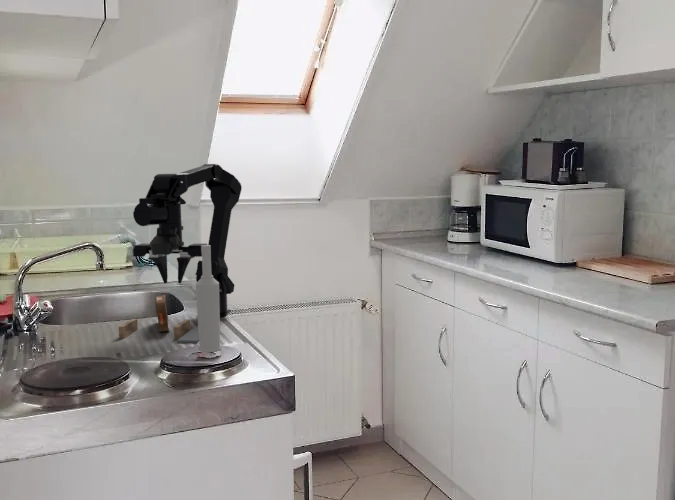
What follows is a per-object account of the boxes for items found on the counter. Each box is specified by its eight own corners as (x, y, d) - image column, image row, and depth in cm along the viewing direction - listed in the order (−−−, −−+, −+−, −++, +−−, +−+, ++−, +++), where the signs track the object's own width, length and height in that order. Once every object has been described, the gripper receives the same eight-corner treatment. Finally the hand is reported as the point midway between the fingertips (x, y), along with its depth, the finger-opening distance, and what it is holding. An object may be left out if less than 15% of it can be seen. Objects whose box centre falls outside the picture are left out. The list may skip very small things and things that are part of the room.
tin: (169, 334, 178) (167, 302, 177) (156, 335, 177) (154, 303, 176) (168, 322, 192) (167, 292, 191) (156, 323, 191) (155, 292, 190)
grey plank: (197, 327, 185) (197, 325, 185) (215, 327, 184) (215, 325, 184) (177, 342, 169) (177, 340, 169) (197, 342, 169) (197, 340, 169)
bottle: (226, 353, 159) (222, 244, 156) (214, 359, 154) (210, 247, 151) (206, 351, 160) (201, 244, 157) (194, 357, 156) (189, 246, 153)
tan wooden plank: (133, 329, 183) (132, 318, 183) (190, 330, 182) (189, 319, 181) (119, 338, 174) (118, 326, 174) (178, 339, 173) (178, 327, 172)
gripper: (121, 225, 172) (125, 288, 174) (194, 225, 169) (197, 288, 171) (140, 222, 183) (143, 280, 185) (209, 221, 180) (211, 281, 182)
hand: (172, 283), depth 180 cm, fingers open, 3 cm apart
